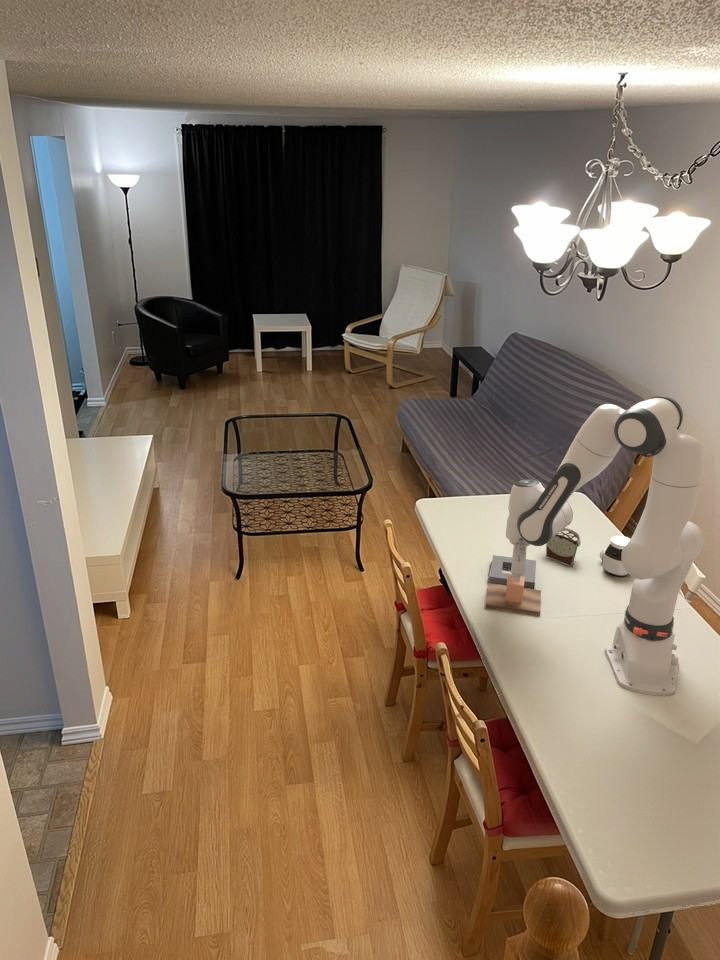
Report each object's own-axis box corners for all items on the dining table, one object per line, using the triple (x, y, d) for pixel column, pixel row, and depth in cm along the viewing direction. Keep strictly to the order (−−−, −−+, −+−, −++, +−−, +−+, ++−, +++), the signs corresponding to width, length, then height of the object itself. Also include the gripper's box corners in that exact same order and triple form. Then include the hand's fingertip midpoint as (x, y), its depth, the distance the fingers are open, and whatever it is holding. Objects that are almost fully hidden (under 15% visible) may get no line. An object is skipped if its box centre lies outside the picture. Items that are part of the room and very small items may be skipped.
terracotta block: (521, 602, 220) (523, 585, 218) (505, 600, 221) (506, 583, 219) (522, 594, 225) (524, 577, 222) (505, 591, 226) (507, 574, 223)
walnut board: (539, 616, 217) (540, 611, 216) (485, 608, 220) (485, 604, 219) (540, 594, 227) (541, 590, 227) (488, 587, 231) (488, 583, 230)
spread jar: (618, 582, 235) (624, 550, 230) (587, 568, 242) (592, 537, 238) (638, 569, 242) (644, 538, 237) (607, 556, 250) (613, 525, 245)
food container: (584, 561, 246) (588, 534, 242) (575, 568, 242) (579, 541, 238) (551, 548, 254) (554, 522, 250) (542, 555, 250) (545, 528, 246)
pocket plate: (534, 589, 230) (535, 582, 229) (489, 583, 233) (489, 576, 232) (535, 567, 242) (536, 560, 241) (492, 561, 245) (492, 555, 244)
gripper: (531, 549, 204) (526, 592, 210) (533, 517, 222) (528, 557, 228) (508, 547, 205) (504, 589, 211) (512, 515, 224) (508, 555, 229)
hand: (517, 572), depth 219 cm, fingers open, 8 cm apart
